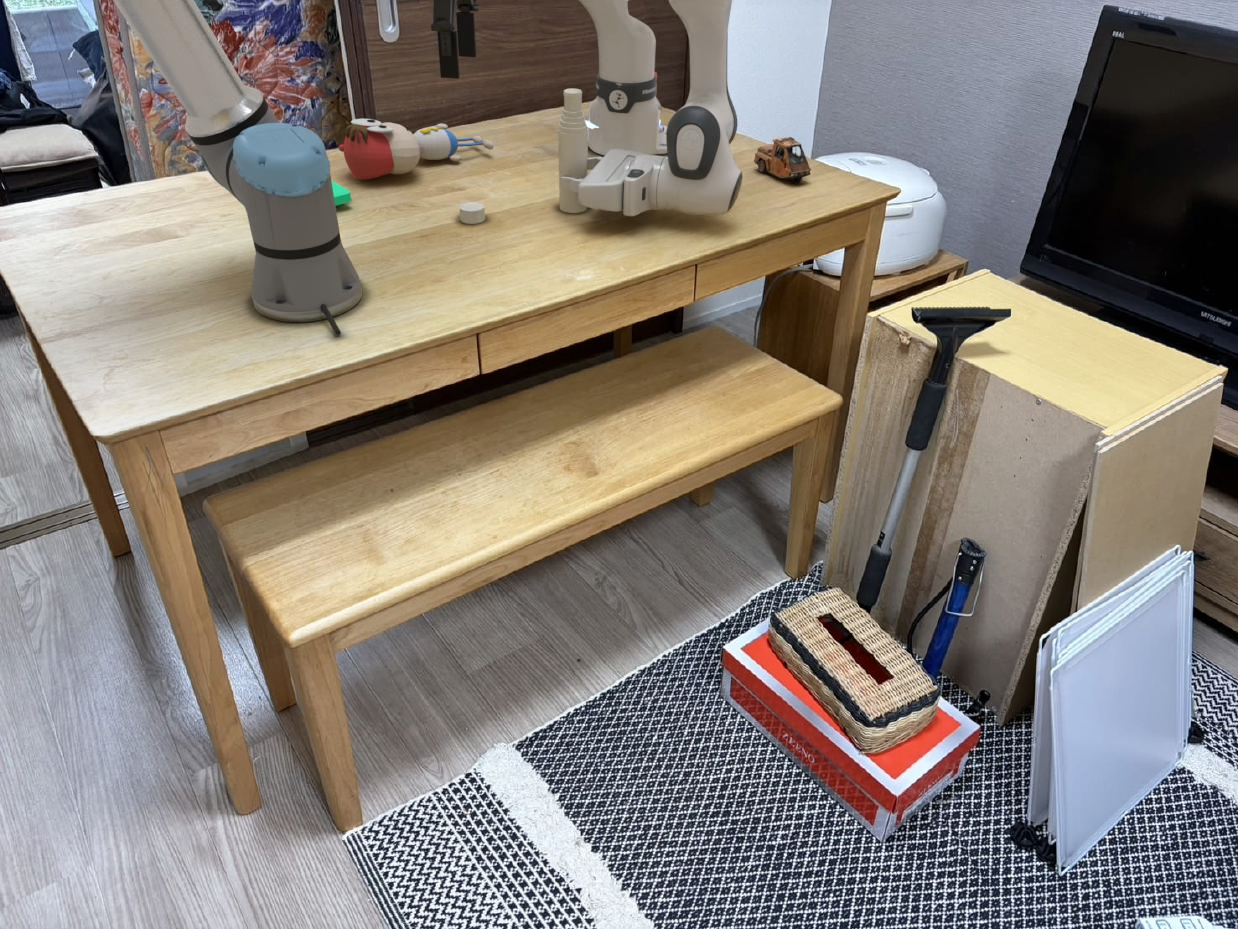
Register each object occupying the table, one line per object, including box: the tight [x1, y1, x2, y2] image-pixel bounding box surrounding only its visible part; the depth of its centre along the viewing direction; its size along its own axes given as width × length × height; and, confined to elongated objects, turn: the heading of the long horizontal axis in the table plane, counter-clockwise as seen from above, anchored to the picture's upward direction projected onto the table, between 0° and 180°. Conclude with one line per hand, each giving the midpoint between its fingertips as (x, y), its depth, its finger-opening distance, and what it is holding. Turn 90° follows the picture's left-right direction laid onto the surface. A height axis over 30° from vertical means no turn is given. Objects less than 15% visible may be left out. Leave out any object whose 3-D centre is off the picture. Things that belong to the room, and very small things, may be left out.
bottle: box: [557, 87, 589, 214], centre depth 159 cm, size 5×5×20 cm
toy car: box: [753, 136, 812, 184], centre depth 179 cm, size 6×12×7 cm, turn 39°
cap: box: [459, 201, 486, 225], centre depth 159 cm, size 4×4×2 cm
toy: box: [338, 118, 494, 181], centre depth 178 cm, size 18×10×30 cm
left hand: (459, 66), depth 145 cm, fingers open, 13 cm apart
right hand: (569, 171), depth 162 cm, fingers open, 8 cm apart
